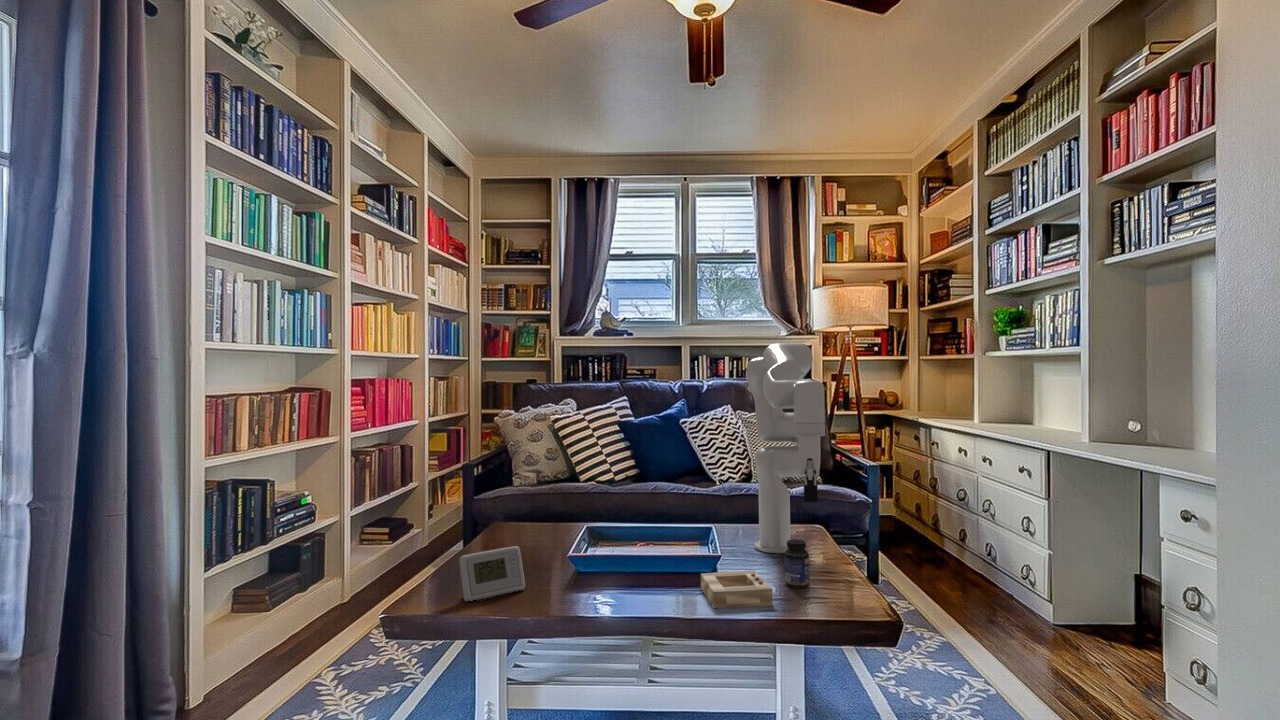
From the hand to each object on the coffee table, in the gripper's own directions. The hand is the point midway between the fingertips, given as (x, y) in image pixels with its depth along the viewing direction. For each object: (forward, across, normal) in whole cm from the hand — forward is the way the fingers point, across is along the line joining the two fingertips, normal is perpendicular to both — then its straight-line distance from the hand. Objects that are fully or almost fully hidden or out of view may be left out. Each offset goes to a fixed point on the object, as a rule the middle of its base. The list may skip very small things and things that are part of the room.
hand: (811, 498), depth 156 cm
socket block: (+23, +9, -18) cm, 31 cm away
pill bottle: (+23, -4, -4) cm, 24 cm away
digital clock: (+23, +22, -77) cm, 83 cm away
